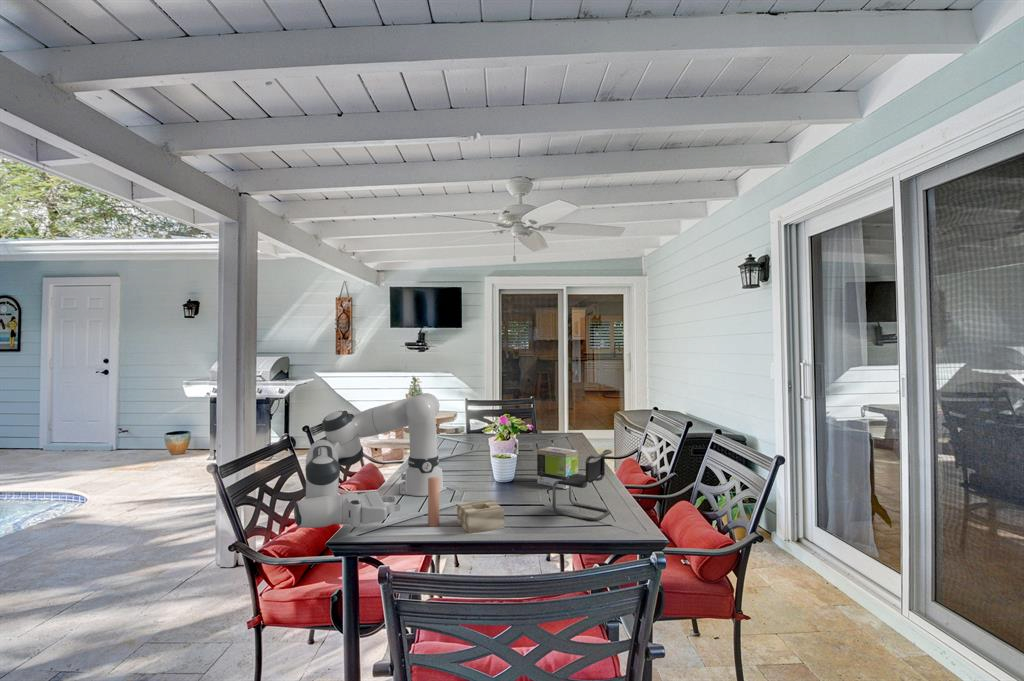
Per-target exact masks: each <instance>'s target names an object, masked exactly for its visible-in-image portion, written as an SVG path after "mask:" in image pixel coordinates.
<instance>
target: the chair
mask: <svg viewBox="0 0 1024 681" xmlns="http://www.w3.org/2000/svg"><path fill="white" fill-rule="evenodd" d="M612 453H613V451H612V449H605V450H603V451H602V453H601V452H600V453H599V454H595V455H593V454H592V455H591V454H590V455H589V456H587V458H586V459H585V475H584V474H579V473H578V474H573V475H572V476H571V477H570V478H568V479H566V480H561V481H556V482H554V484H553V486H552V510H554V512H555V513H556V514H558V515H562V516H564V517H572V518H575V519H580V520H585V521H588V522H598V521H600V520H602V519H604V518H605V517H607V516H609V515H610V514H611V511H610V510H609V509H608V508H603V507H598V506H594V505H589V504H584V503H580V502H575V501H574V500H573V487H574V488H579V489H584V488H587V487H588V486H589V484H591V483H592V482H594V481H597V482H600V481H602V480H603V479H605V478H604V477H605V476H606V475H605V469H606V468H605V466H606V464H605V461H606V460H605V458H606V457H605V456H608V455H611V454H612ZM592 459H596V461H592V462H590V460H592ZM597 459H598V460H597ZM557 484H562V485H567V486H569V488H568V489H569V490H568V494H569V495H568V496H569V497H568V498H569V502H570V503H571V504H572V505H573V506H575V507H579V508H585V509H590V510H595V511H599V512H604V513H603V514H601V515H599V516H597V517H589V516H585V515H581V514H575V513H570V512H567V511H561V510H559V509H558V508H557V505H556V503H557V502H556V500H557V499H556V488H557V487H556V485H557ZM572 486H573V487H572Z"/></svg>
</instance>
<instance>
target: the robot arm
mask: <svg viewBox="0 0 1024 681" xmlns="http://www.w3.org/2000/svg"><path fill="white" fill-rule="evenodd" d="M439 411H440V402H439V400H438V398H437V397H436V396H435V395H434V394H432V393H429V392H425V393H420V394H417V395H413V396H410V397H406V398H403V399H399V400H396V401H393V402H390V403H389V402H388V403H385V404H382V405H378V406H374V407H370V408H368V409H365V410H362V411H360V412H358V413H355V414H353V413H349V412H347V411H343V410H337V411H333V412H331V413H329V414H328V415H326V416H325V417H324V418H323V420H322V422H321V423H322V426H321V427H322V430H323V431H324V435H325V438H326V439H318V440H316V441H315V442H313V443H312V444H311V445H310V446H309V449H308V451H307V454H306V457H305V467H304V469H305V496H304V498H302V499H299V500H297V501H296V502H295V503H294V506H293V514H294V521H295V524H296V525H297V526H298V528H303V529H304V528H305V529H307V528H308V529H312V528H313V529H315V528H325V527H328V526H331V525H350V526H352V527H354V528H357V527H361V525H366V524H367V525H368V524H373V523H378V522H382V521H385V520H387V518H388V515H389V514H392V513H394V512H400V511H401V505H400V504H399V503H395V501H396V497H395V496H394V495H380V493H379V492H378V491H367V492H361V493H358V492H349V493H342V494H339V475H340V469H341V468H340V467H341V466H342V467H350V466H353V465H355V464H357V463H358V462H360V461H361V460H362V458H363V456H364V449H363V448H364V447H363V446H362V443H361V440H360V438H367V437H374V436H377V435H382V434H385V433H390V432H393V431H397V430H400V429H403V428H406V427H408V434H409V456H408V459H407V468H406V470H405V473H402V474H401V476H400V478H401V479H400V480H401V481H402V482H400V483H399V494H400V495H407V496H415V497H416V496H417V497H425V496H427V497H428V478H432V477H437V478H439V494H440V493H441V492H442V491H445V490H447V486H446V485H445V484H444V483H443V482H444V481H443V469H442V467H440V466H439V461H440V459H439V455H438V434H437V433H438V432H437V424H436V422H437V421H436V416H437V415H438V413H439ZM386 503H389V504H391V503H394V504H392V505H386Z"/></svg>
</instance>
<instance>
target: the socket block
mask: <svg viewBox="0 0 1024 681" xmlns="http://www.w3.org/2000/svg"><path fill="white" fill-rule="evenodd" d="M456 506H457V507H456V512H457V513H456V514H457V515H456V518H457V519H456V521H457V523H458V524H459V526H461V527H462V528H463V530H465V532H466V533H468V534H474V532H476V533H481V532H480V531H482V532H488V530H489V531H494V530H495V531H497V530H501V529H502V528H503V529H505V509H504V508H503V507H502V506H501V505H499V504H498V503H496V502H495V501H494V500H493V499H483V500H474V501H466V502H457V504H456ZM503 529H502V530H503Z"/></svg>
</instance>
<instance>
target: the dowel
mask: <svg viewBox="0 0 1024 681" xmlns="http://www.w3.org/2000/svg"><path fill="white" fill-rule="evenodd" d="M427 521H428V522H427V525H428V527H432V528H433V527H434V528H435V527H436V528H437V527H438V526H440V493H439V478H437V477H432V478H428V495H427Z"/></svg>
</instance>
